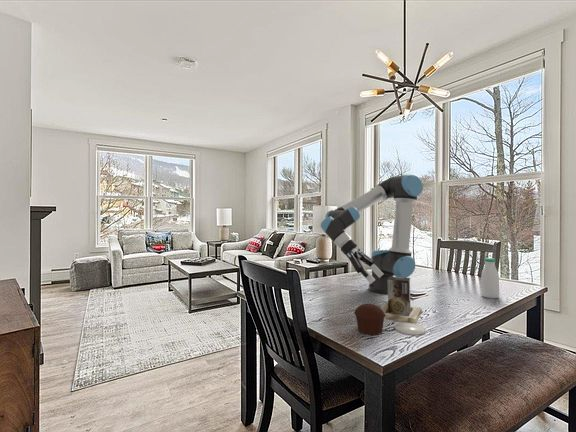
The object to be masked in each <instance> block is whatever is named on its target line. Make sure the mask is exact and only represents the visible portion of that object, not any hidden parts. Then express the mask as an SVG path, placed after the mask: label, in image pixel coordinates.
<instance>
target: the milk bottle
mask: <svg viewBox="0 0 576 432" xmlns="http://www.w3.org/2000/svg"><path fill="white" fill-rule="evenodd" d="M484 263H485V264H484V267H483V268H482V271H481V275H480V276H481V279H480V280H481V281H480V282H481V284H480V285H481V286H480V289H481V296H482V297H483V298H487V299H488V298H489V299H499V297H500V275H499V271H498V270H497V269H498V268H497V267H496V258H493V257H485V258H484Z"/></svg>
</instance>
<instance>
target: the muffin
mask: <svg viewBox="0 0 576 432" xmlns="http://www.w3.org/2000/svg"><path fill="white" fill-rule="evenodd" d="M353 313H354V316H355V318H356V324H357V330H358V332H359V334H360V333H361V334H362V335H365V336H370V337H373V336H379V335H380V334H382V333H383V328H384V321H385V319H384V317H385V313H384V312H383V310H382V309H381V307H380V306H378V305H377V304H373V303H363V304H360V305H358V306H357V308H355V310H354V312H353Z"/></svg>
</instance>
